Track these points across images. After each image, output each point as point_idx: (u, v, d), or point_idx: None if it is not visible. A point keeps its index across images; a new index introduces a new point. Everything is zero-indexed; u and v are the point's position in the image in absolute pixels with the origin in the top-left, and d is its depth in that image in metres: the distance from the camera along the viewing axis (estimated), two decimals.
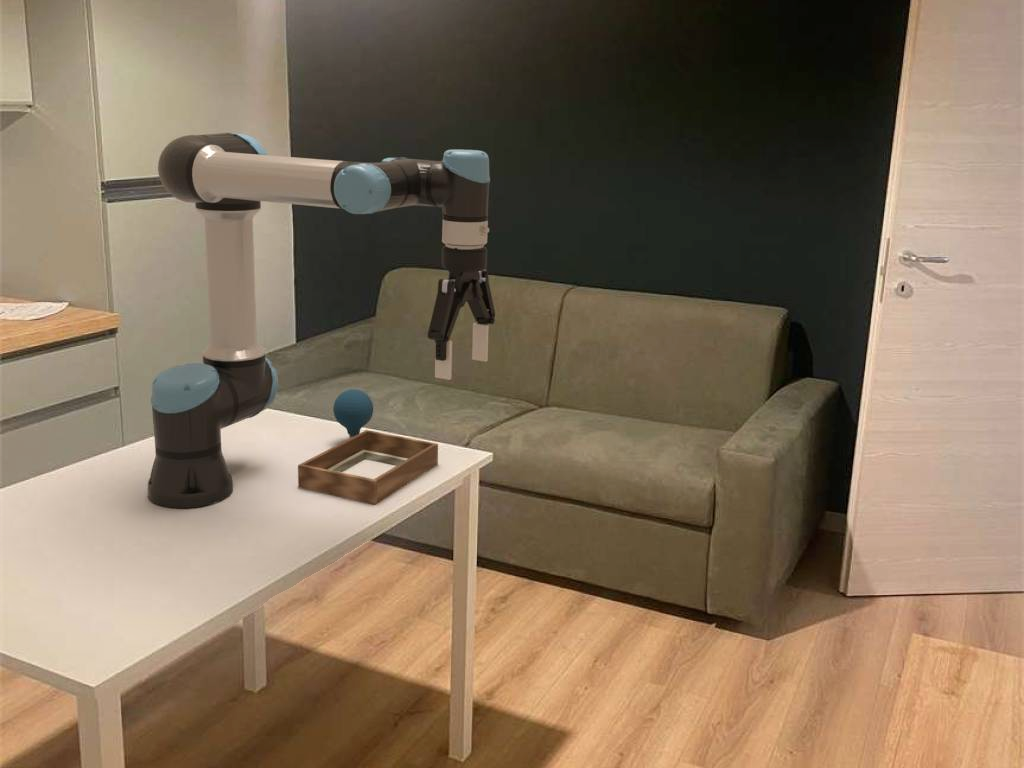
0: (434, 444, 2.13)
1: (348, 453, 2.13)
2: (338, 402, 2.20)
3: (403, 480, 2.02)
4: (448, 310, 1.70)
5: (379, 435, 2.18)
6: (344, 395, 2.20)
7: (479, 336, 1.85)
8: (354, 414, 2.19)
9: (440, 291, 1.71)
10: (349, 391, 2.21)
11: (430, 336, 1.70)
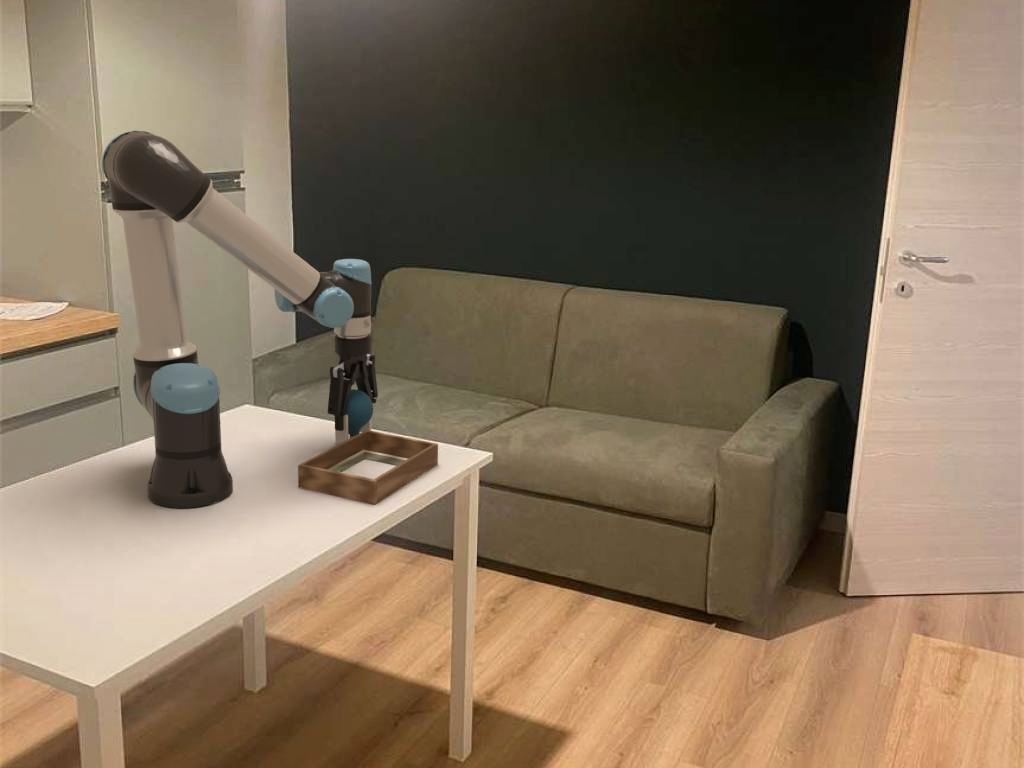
0: (434, 444, 2.13)
1: (348, 453, 2.13)
2: None
3: (403, 480, 2.02)
4: (340, 391, 2.15)
5: (379, 435, 2.18)
6: None
7: None
8: (354, 414, 2.19)
9: (332, 377, 2.15)
10: None
11: (329, 413, 2.16)
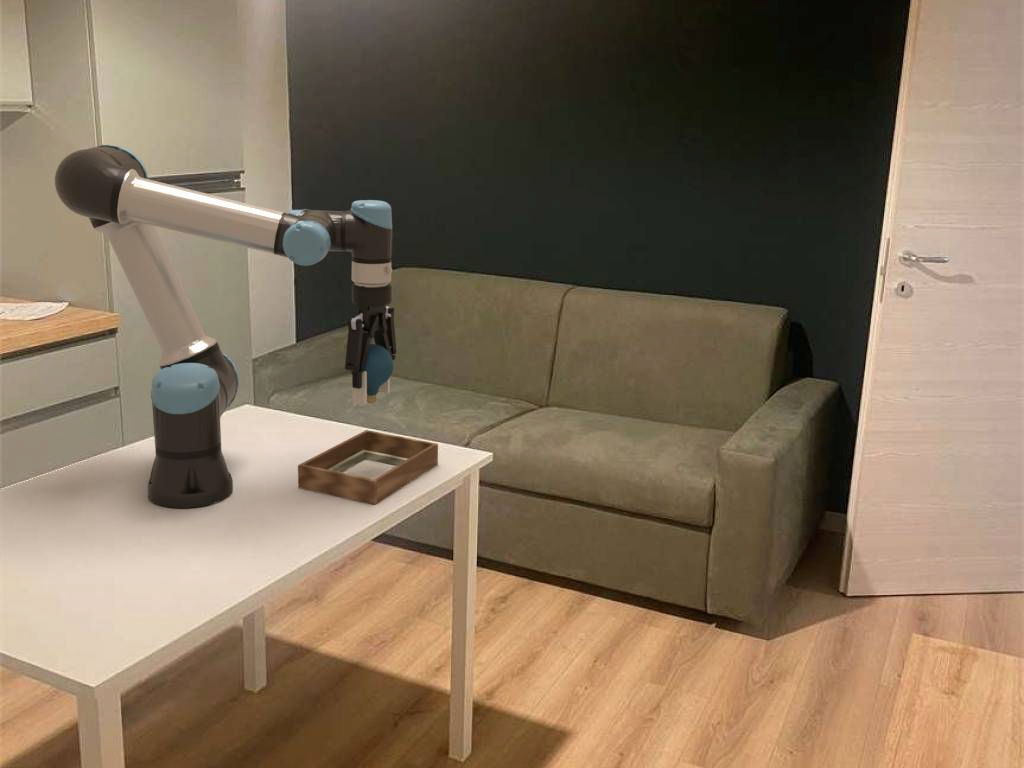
0: (434, 444, 2.13)
1: (348, 453, 2.13)
2: None
3: (403, 480, 2.02)
4: (359, 345, 1.97)
5: (379, 435, 2.18)
6: None
7: None
8: (374, 370, 2.01)
9: (350, 329, 1.97)
10: None
11: (347, 368, 1.98)
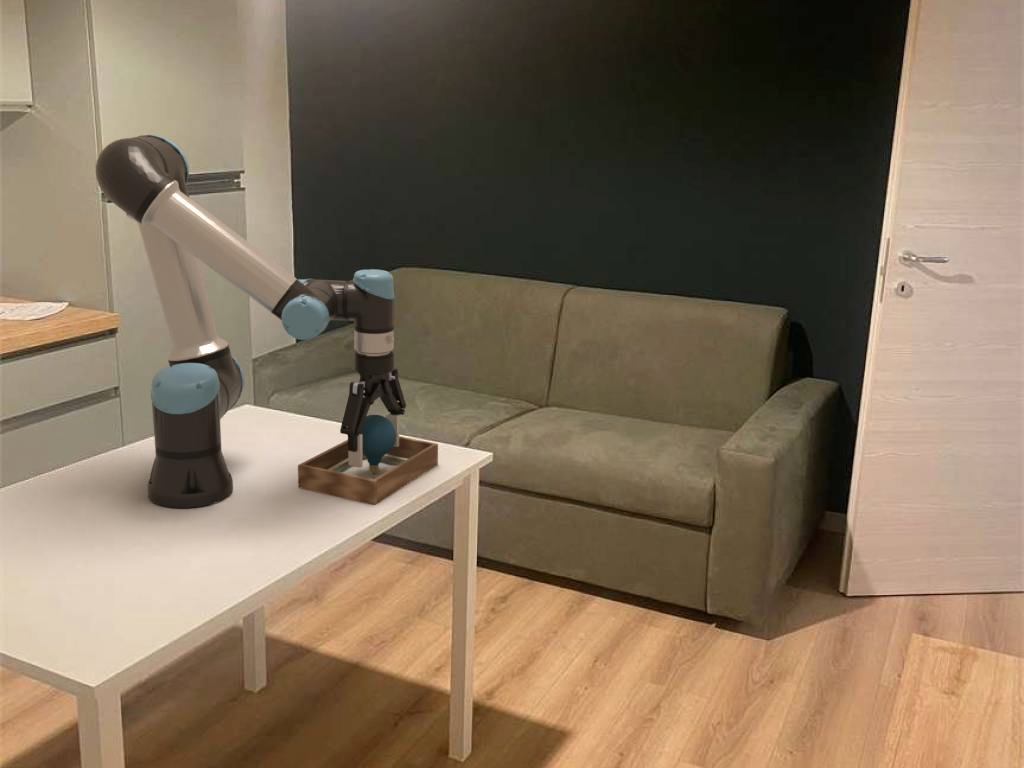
0: (434, 444, 2.13)
1: None
2: None
3: (403, 480, 2.02)
4: (358, 409, 1.97)
5: None
6: (365, 421, 2.04)
7: None
8: (376, 441, 2.03)
9: (351, 393, 1.98)
10: (371, 416, 2.05)
11: (342, 432, 1.97)
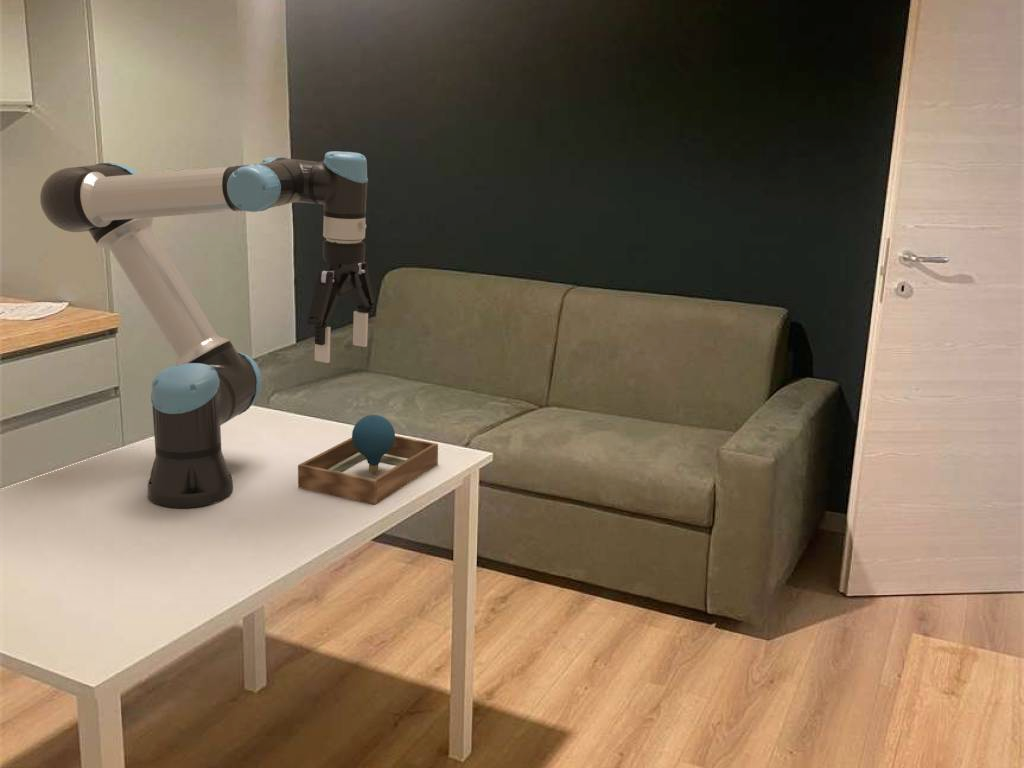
0: (434, 444, 2.13)
1: (348, 453, 2.13)
2: (357, 429, 2.04)
3: (403, 480, 2.02)
4: (326, 299, 1.85)
5: None
6: (364, 422, 2.04)
7: (359, 323, 2.01)
8: (375, 442, 2.03)
9: (319, 281, 1.86)
10: (369, 417, 2.05)
11: (309, 322, 1.85)
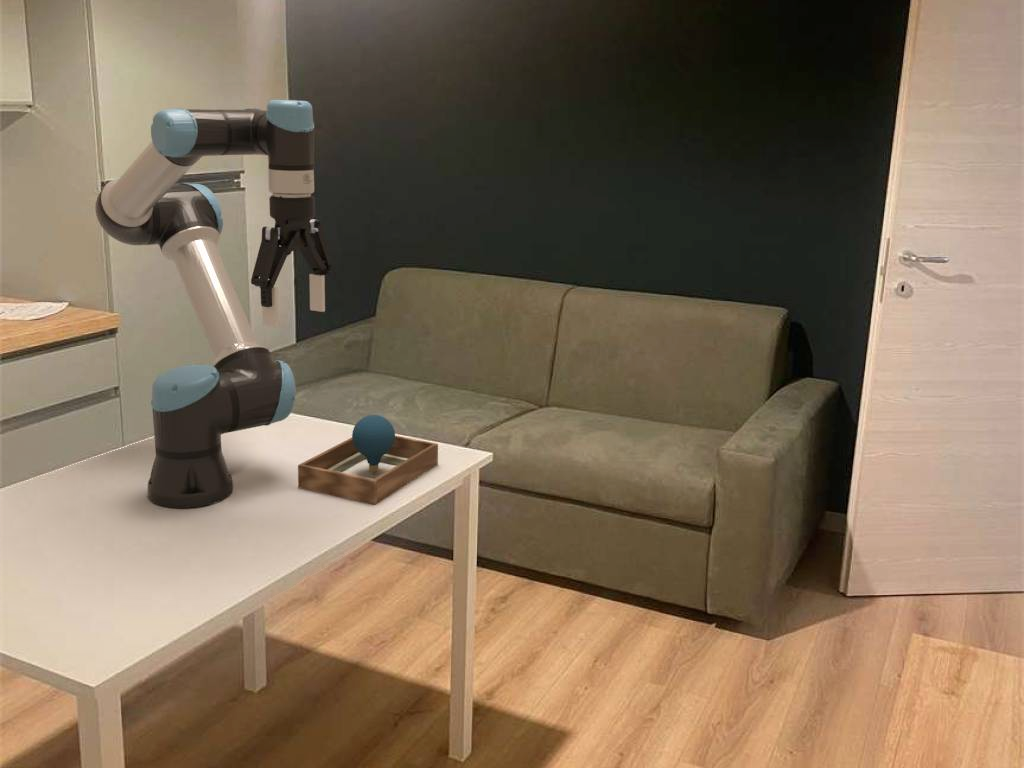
0: (434, 444, 2.13)
1: (348, 453, 2.13)
2: (358, 429, 2.04)
3: (403, 480, 2.02)
4: (271, 257, 1.73)
5: None
6: (364, 422, 2.04)
7: (315, 286, 1.88)
8: (375, 442, 2.03)
9: (264, 238, 1.74)
10: (369, 417, 2.05)
11: (253, 282, 1.73)
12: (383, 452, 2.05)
